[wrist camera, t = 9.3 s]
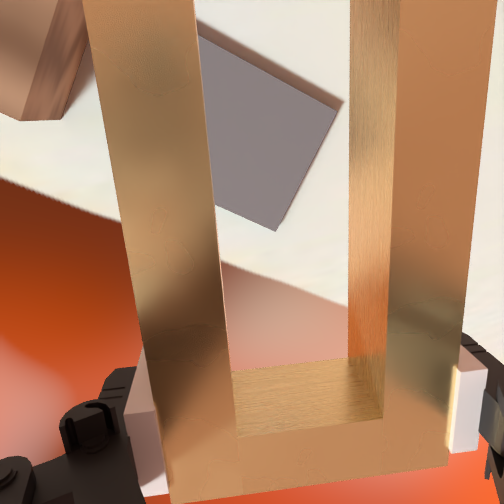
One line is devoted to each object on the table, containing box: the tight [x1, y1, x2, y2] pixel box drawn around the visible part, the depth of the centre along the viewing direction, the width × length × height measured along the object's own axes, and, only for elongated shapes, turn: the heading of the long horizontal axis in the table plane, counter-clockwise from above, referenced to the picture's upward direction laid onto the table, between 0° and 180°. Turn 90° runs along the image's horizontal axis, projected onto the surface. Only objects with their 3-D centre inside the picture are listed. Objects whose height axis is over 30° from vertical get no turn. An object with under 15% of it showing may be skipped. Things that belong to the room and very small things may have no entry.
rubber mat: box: [198, 35, 337, 232], centre depth 36 cm, size 12×15×1 cm
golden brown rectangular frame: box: [82, 0, 497, 504], centre depth 10 cm, size 8×16×3 cm, turn 4°
